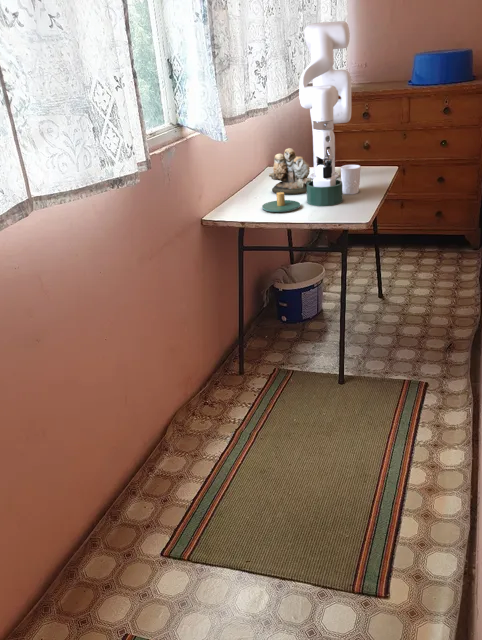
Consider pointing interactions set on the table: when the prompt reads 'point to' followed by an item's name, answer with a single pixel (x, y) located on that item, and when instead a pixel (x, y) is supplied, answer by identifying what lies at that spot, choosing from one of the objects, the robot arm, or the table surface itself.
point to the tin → (324, 194)
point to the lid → (281, 204)
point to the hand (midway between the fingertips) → (324, 175)
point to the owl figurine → (290, 173)
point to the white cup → (350, 179)
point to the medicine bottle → (321, 181)
